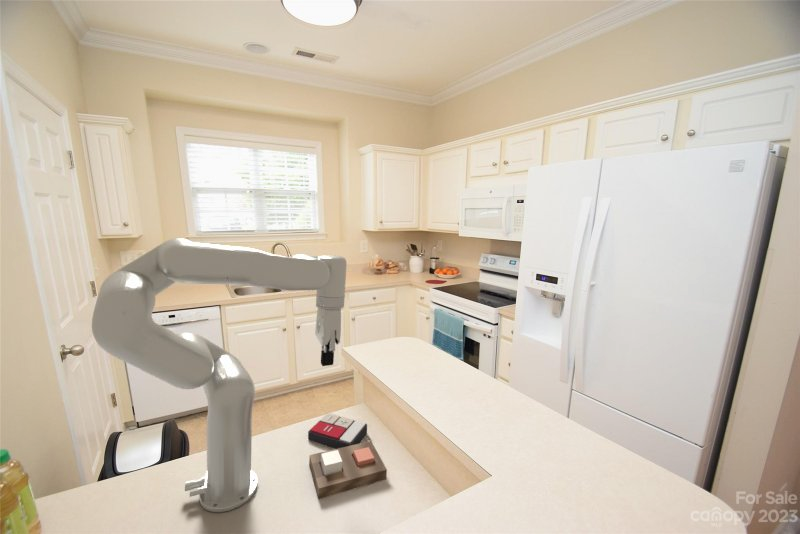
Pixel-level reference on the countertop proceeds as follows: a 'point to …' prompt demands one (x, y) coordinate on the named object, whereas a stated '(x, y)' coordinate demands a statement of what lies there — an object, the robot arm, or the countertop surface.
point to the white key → (331, 463)
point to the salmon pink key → (363, 457)
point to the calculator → (337, 431)
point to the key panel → (346, 471)
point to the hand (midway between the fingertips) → (327, 364)
